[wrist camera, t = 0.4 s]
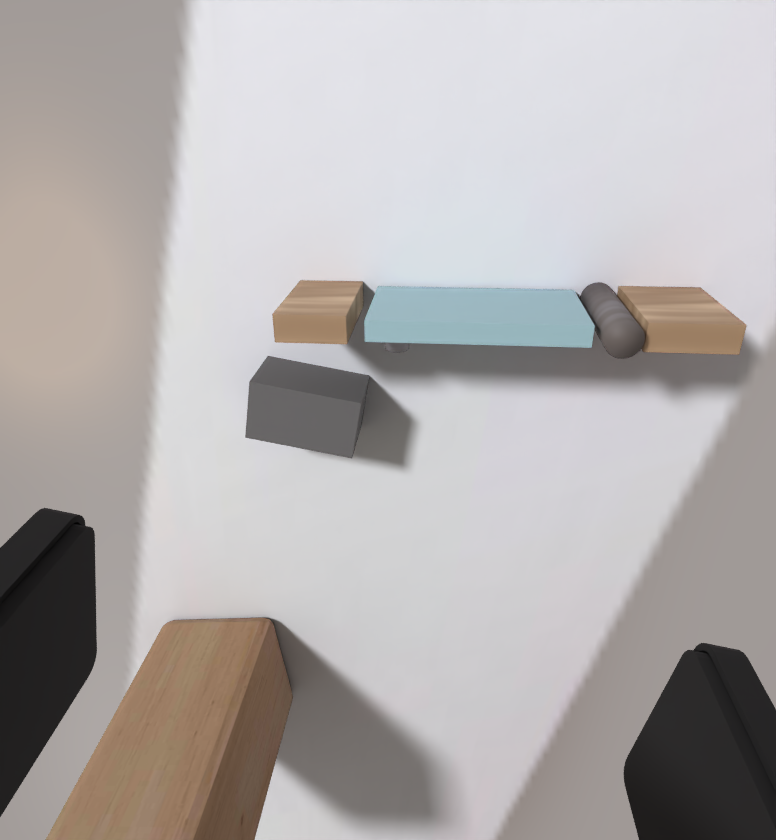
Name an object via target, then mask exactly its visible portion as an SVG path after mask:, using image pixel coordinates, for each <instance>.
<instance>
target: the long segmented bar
mask: <svg viewBox="0 0 776 840" xmlns="http://www.w3.org/2000/svg"><path fill="white" fill-rule="evenodd" d="M580 301H581V303H582V305H583V307H584V308H585V310H586V312H587V313H588V315H589V317H590V319H591V320H592V322H593V324H594V325H595V328H594V329H595V331H596V333H597V335H598V336H599V338H600V340H601V342H602V343H603V345H604V347H605V348H606V350H607V352H608V353H609V354H610V355H612V356H613V357H616V358H629V357H631V356H633V355H635V354H637V353H638V352H639V351H640V350H641V349H642V351H643V352H660V353H698V354H735V355H739V353H740V349H741V345H742V341H743V337H744V333H745V329H746V324H745V323H743V322H742V321H741V320H740V319H739V318H737V317H736V316H735V315H734V314H732V313H731V312H730V311H729V310H727V309H726V308H725V307H724V306H723V305H721V304H720V303H719V302H718V301H716V300H715V299H714V298H713V297H711V296H710V295H709V294H708V293H707V292H705V291H704V290H703V289H702V288H695V287H640V286H619V287H618V293H617V296H616V294H615V293H614V292H613V291H612V289H611V288H610V287H609V286H608V285H606V284H604V283H593V284H590V285H589V286H587V287H586V288H585V289H584V290H583V292H582V293H581V296H580ZM362 308H363V282H360V281H304V280H300V281H299V283H298V284H297V285H296V286H295V288H294V289H293V290H292V291H291V292H290V294H289V295H288V296H287V297H286V298H285V300H284V301H283V302H282V303H281V304H280V306H279V307H278V308H277V309H276V311H275V312H274V313H273V314H272V315H273V326H274V337H275V342H283V343H321V344H347V343H348V341H349V338H350V336H351V334H352V331H353V329H354V327H355V324H356V322H357V320H358V317H359V315H360V313H361V311H362Z"/></svg>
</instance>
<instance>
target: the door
mask: <svg viewBox="0 0 776 840" xmlns="http://www.w3.org/2000/svg"><path fill="white" fill-rule="evenodd" d="M594 328H595V325H594V324H593V322H592V320H591V319H590V317H589V315H588V313H587V312H586V310H585V308H584V307H583V305H582V303H581V301H580V300H579V298H578V296H577V295H576V293H575V291H574V290H554V289H500V288H446V287H392V286H378V288H377V290H376V293H375V295H374V298H373V300H372V303H371V305H370V308H369V310H368V312H367V315H366V317H365V320H364V331H365V342H385V349H386V350H387V351H390V352H404V351H407V350H408V349H409V343H428V344H467V345H505V346H543V347H581V348H592V342H593V335H594Z"/></svg>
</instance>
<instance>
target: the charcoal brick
mask: <svg viewBox="0 0 776 840" xmlns="http://www.w3.org/2000/svg"><path fill="white" fill-rule="evenodd" d="M368 382H369V375H363V374H358V373H353V372H348V371H343V370H338V369H332V368H327V367H322V366H317V365H312V364H307V363H301V362H296V361H291V360H286V359H281V358H276V357H270V356H268V357H267V358H266V359H265V361H264V362H263V364H262V365H261V366H260V368H259V369H258V371H257V372H256V373H255V375H254V376H253V378H252V379H251V380H250V383H249V396H248V410H247V423H246V437H245V438H250V439H256V440H261V441H266V442H271V443H276V444H281V445H287V446H292V447H297V448H302V449H307V450H312V451H317V452H323V453H328V454H333V455H338V456H343V457H348V458H352V456H353V453H354V449H355V446H356V442H357V439H358V435H359V432H360V428H361V423H362V417H363V411H364V405H365V400H366V394H367V388H368Z"/></svg>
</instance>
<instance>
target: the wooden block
mask: <svg viewBox="0 0 776 840" xmlns="http://www.w3.org/2000/svg"><path fill="white" fill-rule="evenodd" d="M292 699H293V695H292V691H291V687H290V683H289V680H288V676H287V672H286V669H285V665H284V661H283V658H282V654H281V650H280V647H279V643H278V639H277V635H276V632H275V628H274V624H273V623H272V622H271V620H269V619H266V618H233V619H197V620H173V621H170V622H168V623H166V624H165V625H164V626H163V627H162V629H161V631H160V632H159V634H158V636H157V638H156V640H155V642H154V643H153V645H152V647H151V649H150V651H149V652H148V654H147V656H146V658H145V660H144V662H143V663H142V665H141V667H140V669H139V671H138V672H137V674H136V676H135V678H134V680H133V682H132V683H131V685H130V687H129V689H128V691H127V692H126V694H125V696H124V698H123V700H122V702H121V703H120V705H119V707H118V709H117V711H116V713H115V714H114V716H113V718H112V720H111V722H110V723H109V725H108V727H107V729H106V731H105V733H104V734H103V736H102V738H101V740H100V742H99V743H98V745H97V747H96V749H95V751H94V753H93V754H92V756H91V758H90V760H89V762H88V763H87V765H86V767H85V769H84V771H83V773H82V775H81V776H80V778H79V780H78V782H77V784H76V785H75V787H74V789H73V791H72V793H71V794H70V796H69V798H68V800H67V802H66V804H65V805H64V807H63V809H62V811H61V813H60V814H59V816H58V818H57V820H56V822H55V824H54V826H53V827H52V829H51V831H50V833H49V834H48V836H47V838H46V840H254V839H255V835H256V832H257V828H258V824H259V820H260V817H261V813H262V809H263V806H264V802H265V798H266V795H267V791H268V787H269V784H270V780H271V776H272V772H273V769H274V765H275V761H276V758H277V754H278V750H279V747H280V743H281V739H282V736H283V732H284V728H285V724H286V721H287V717H288V713H289V710H290V706H291V702H292Z"/></svg>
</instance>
